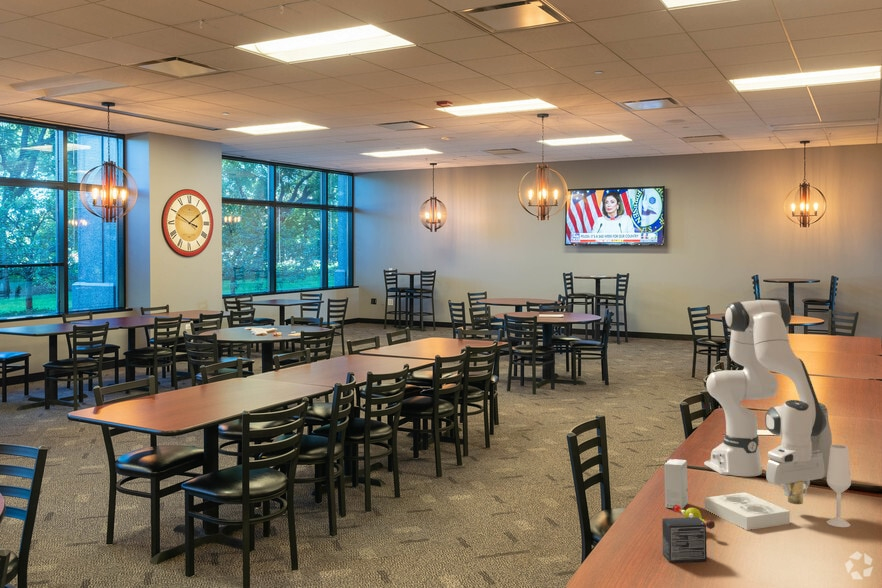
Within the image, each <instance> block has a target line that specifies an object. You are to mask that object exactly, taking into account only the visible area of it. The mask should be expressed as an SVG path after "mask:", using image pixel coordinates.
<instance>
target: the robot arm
mask: <svg viewBox="0 0 882 588" xmlns="http://www.w3.org/2000/svg"><path fill="white" fill-rule="evenodd" d="M724 318H725V323H726V325H727V327H728V328H729V329H731V331H730V341H729V350H728V351H729V352H728V354H729V357H730V359H731V360H732V361H733V362H734V363H736V364H738V365H740V366H742V367H743V369H741V370H740V369H739V370H738V369H737V370H731V369H730V370H725V369H724V370H718V371H714V372H713V371H712V372H711V373H709V375H708V377H707V379H706V385H705V387H706V390H707V392H708V393H709V395H710V396H711V397H712V398H714V399H715V400H716V401H717V402H718V403H719V405H721V407H722V409H723V411H724V417H725V428H726V429H725V430H726V431H725V434H721V438H723V440H722V443H720V444H719V445H717V446H716V447H714V448H713V449H712V450H711V453H710V459H708V460H706V461H704V466H706V467H708V468H710V469H711V470H712V471H715V472H716V473H718V474H720V475H725V476H727V475H728V476H733V477H734V476H736V477H737V476H738V477H747V478H748V477H757V476H760V475H762V473H763V472H762V471H763V470H764V468H763V467H764V466H762V463H761V453H760V448H759V443H760V439H759V435H758V416H757V415H756V413H755V411H753V410H751V409H750V408H748V407H746V406H745V407H744V406H743V404H742V400H764V399H769V398H773V397H774V396H775V395H776V393H777V391H778V390H779V381H778V378H777V377H776V376H775V374H774V373H778V374H780V375H783V376H785V377H787V378H789V379H790V380H791V381H792V382H793V383H794V386H795V389H796V392H797V394H798V397H799V400H797V399H791V400H790V399H789V400H786V401H784V403H783V404H781V405H776V406H771V407H769V409H768V410H767V412H765V416H764V417H765V418H764V422H765V428H766V430H768V432H770V433H771V434H773V435H774V436H781V440H780V441H781V442H780V443H781V444H779V445H778V446H776V447H775V448H773V449H771V450H769V451H768V452H767V458H769V460H768V461H767V464H766V474H765V476H766V481H767V482H768V483H770V484H772V485H774V486H779V485H781V486H782V489H783V490H784V492H783V493H784V496H785V497H788V496H792V491H791V490H789V487H788V486H790V483H794V482H801V481H803V495H806V494H808V493H807V490H808V487H809V486H810V484H811V481H813V480H815V481H816V480H821V478H822V479H824V478H823V477H824V474H825V472H824V462H823V454H822V452H821V451H819V450H812V442H811V438H810V437H811V436H818V435H819V434H820V433H821V432H822V431H823V430H824V429H825V427H826V417H825V414H824V412H823V410H822V408H821V406H820V404H819V403H820V402H819V399H818V397H817V394H816V391H815V390H814V386H813V383H812V381H811V378H810V375H809V371H808V370H807V367H806V365H805V363H804V361H803V360H802V359H801V358H799V357H797V355H796V354H795V353H794V351H793V349H792V348H791V343H790V340H789V334H788V330H787V327H788V326H789V325H790V323H791V321H792V310H791V308H790V305H789V304H788V303H787V302H786V301H784V300H781V299H780V300H779V299H774V300H771V299H756V300H747V301H736V302H731V303H729V304H728V305H727V307H726V309H725V315H724ZM772 372H774V373H772Z"/></svg>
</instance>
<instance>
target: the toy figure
mask: <svg viewBox="0 0 882 588" xmlns="http://www.w3.org/2000/svg"><path fill="white" fill-rule="evenodd" d="M671 509H672V511H673V512H674V513H680V512H681V514H682V515H683V518H692V517H699V518H700V519H701V520H702V521H703V522H704V523H706V528H707V529H709V530H712V529H714V528H715V527H716V523H715V522H714V521H713V520H705V519H703V517H702V516H703V515H702V513H701V511H700V510H699V509H697V508H696V507H688V508H687V509H686V510H685V509H683V510H681V507H680V506H679V505H674V506H673V508H671Z"/></svg>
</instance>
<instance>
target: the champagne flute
mask: <svg viewBox="0 0 882 588" xmlns="http://www.w3.org/2000/svg"><path fill="white" fill-rule="evenodd" d="M826 483H827V485H828V487H830V488H831V490H833V491H834V492H835V493H836V498H835V499H836V503H835V504H836V506H835V507H836V508H835V509H836V515H835V517H833V518H831V519H828V520H826V521H825V522H826V524H828V525H829V526H833V527H837V528H849V527H851V523H849V522H848V521H846V520H845V519H843V518H842V517H841V515H842V513H841V511H842V509H841V508H842V503H841V502H842V500H841V499H842V494H841V493H844V492H845V491H846V490H848V489H849V488H850V486H851V485H852V477H851V467H850V455H849V447H848V446H847V445H845V444H844V445H842V444H832V445H831V446H830V455H829V464H828V472H827V476H826Z"/></svg>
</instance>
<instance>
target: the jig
mask: <svg viewBox="0 0 882 588" xmlns="http://www.w3.org/2000/svg"><path fill="white" fill-rule="evenodd" d="M706 510H707V511H706ZM704 511H706V512H708V511H709V512H708V513H710V512H711V513H710V514H712V513H713V514H712V515H714V514H715V516H716V515H717V517H718V516H719V518H720V519H723V520H725V521H727V522H728V523H731V524H733V523H734V524H733V525H735V524H736V525H735V526H737V525H738V526H737V527H739V526H740V528H741V527H742V528H741V529H743V528H744V529H743V530H745V531H750V530H751V529H752V530H757V529H763V528H769V527H778V526H785V525H789V524H790V515H791V514H790V510H788V509H785V508H784V507H781V506H778V505H776V504H774V503H771V502H769V501H768V500H765V499H762V498H760V497H758V496H754V495H753V494H750V493H748V492H736V493H730V494H728V493H727V494H723V495H715V496H714V495H713V496H709V497H708V496H706V497H704Z"/></svg>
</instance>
